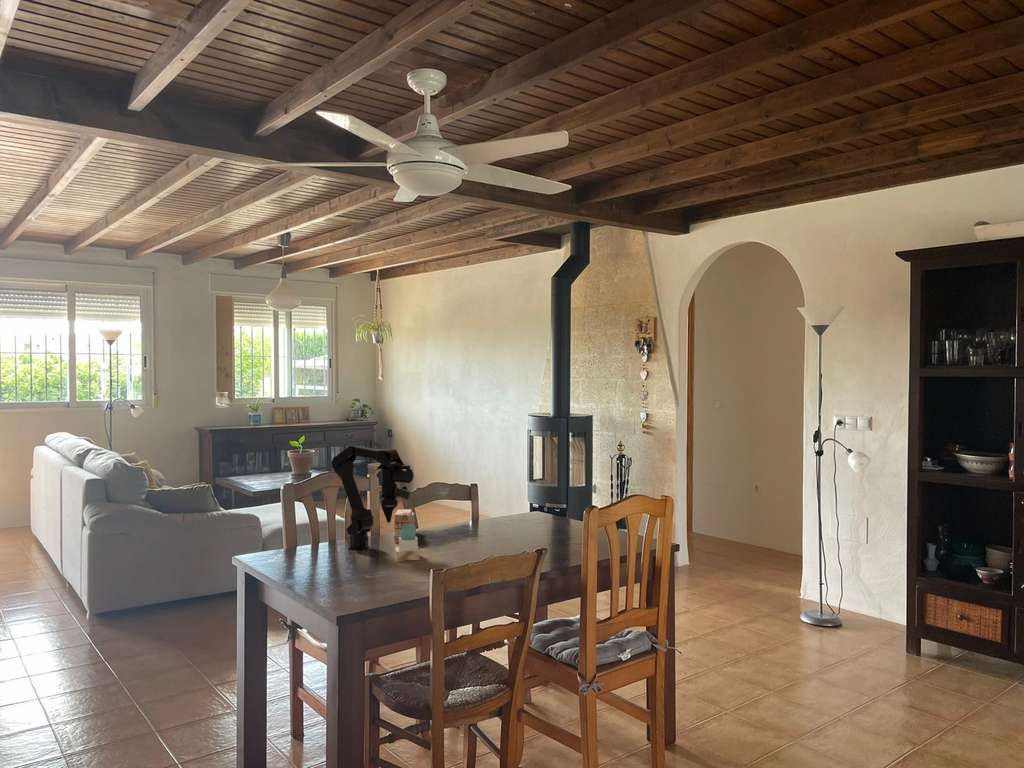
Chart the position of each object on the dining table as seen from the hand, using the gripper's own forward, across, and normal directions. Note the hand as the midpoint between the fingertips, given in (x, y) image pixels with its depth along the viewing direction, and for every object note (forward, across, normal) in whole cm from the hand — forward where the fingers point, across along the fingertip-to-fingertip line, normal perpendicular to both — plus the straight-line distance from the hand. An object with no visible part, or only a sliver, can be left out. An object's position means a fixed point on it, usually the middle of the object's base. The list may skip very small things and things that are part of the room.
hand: (388, 520), depth 310 cm
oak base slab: (+14, -10, -7) cm, 18 cm away
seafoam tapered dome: (+6, -10, -7) cm, 13 cm away
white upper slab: (+10, -10, -7) cm, 15 cm away
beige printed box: (+13, +28, -8) cm, 32 cm away
